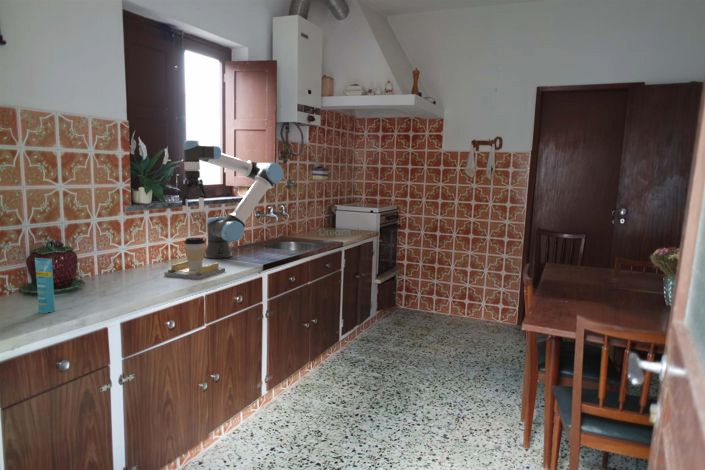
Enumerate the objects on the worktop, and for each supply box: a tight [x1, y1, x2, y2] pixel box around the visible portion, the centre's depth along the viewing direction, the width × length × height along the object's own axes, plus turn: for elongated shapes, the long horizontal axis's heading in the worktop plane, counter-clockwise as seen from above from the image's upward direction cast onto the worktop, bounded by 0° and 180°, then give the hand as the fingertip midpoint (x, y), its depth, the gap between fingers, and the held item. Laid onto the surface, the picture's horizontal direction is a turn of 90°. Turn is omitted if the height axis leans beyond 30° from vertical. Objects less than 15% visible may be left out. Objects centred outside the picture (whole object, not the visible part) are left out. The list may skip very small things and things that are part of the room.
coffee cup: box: [184, 237, 206, 271], centre depth 234 cm, size 9×9×15 cm
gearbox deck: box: [163, 260, 226, 281], centre depth 235 cm, size 20×20×5 cm
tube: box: [34, 257, 56, 314], centre depth 170 cm, size 7×5×19 cm, turn 81°
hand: (193, 210), depth 257 cm, fingers open, 13 cm apart
